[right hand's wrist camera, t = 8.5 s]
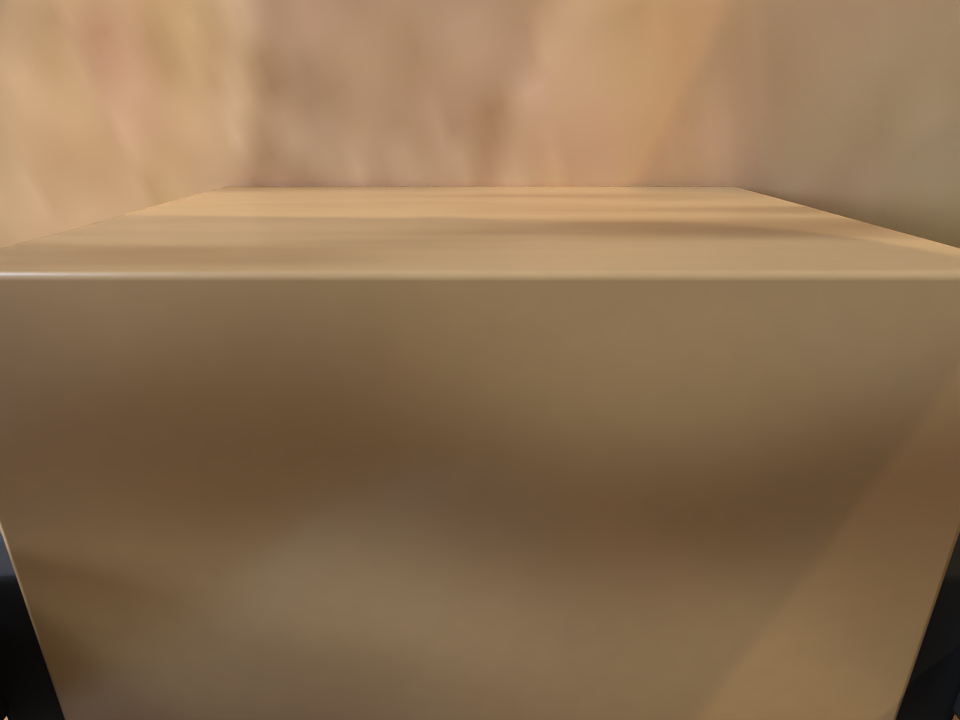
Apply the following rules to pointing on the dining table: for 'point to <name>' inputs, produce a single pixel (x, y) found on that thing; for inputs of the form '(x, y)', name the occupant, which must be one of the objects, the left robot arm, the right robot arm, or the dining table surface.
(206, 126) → the dining table surface
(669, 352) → the wide beam
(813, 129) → the dining table surface
